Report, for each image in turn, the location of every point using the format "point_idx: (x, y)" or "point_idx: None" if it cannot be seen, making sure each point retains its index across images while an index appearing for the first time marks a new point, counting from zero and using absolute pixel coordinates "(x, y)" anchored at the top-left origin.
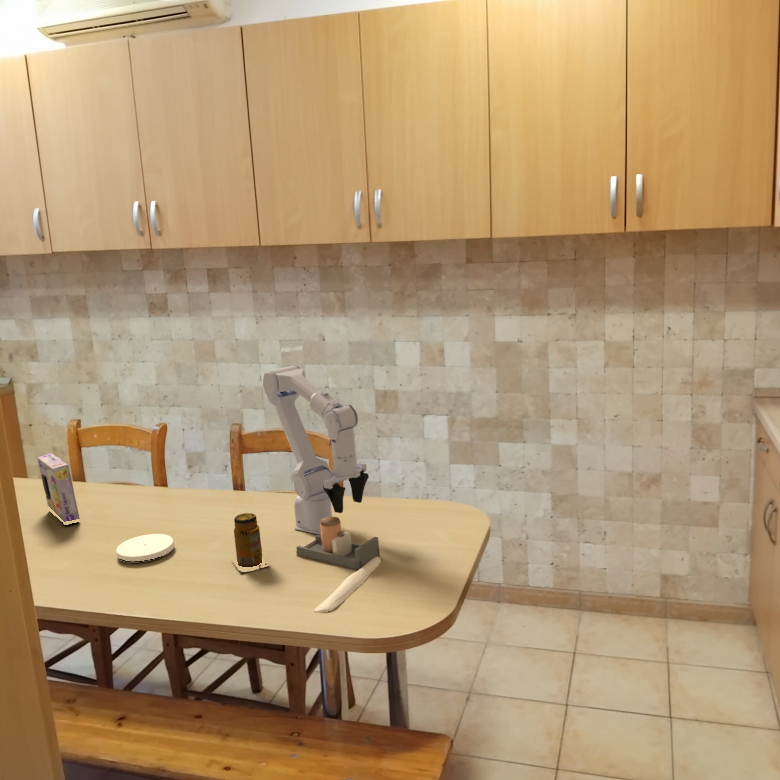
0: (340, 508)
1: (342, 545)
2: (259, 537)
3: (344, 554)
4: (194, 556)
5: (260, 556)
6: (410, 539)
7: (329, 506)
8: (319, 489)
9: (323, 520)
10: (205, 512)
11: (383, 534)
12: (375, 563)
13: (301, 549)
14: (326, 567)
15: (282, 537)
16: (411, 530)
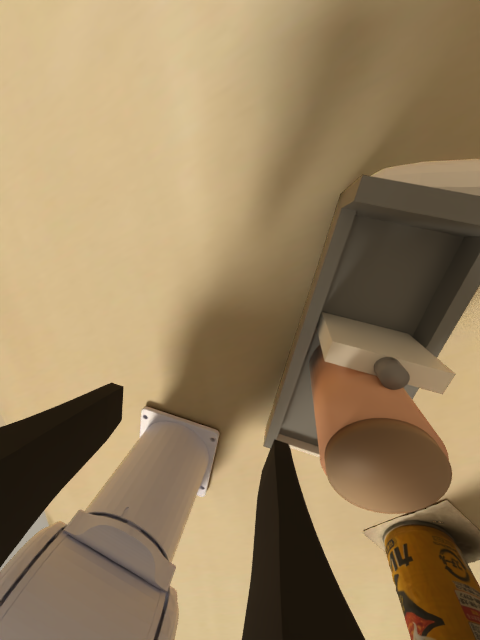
0: (295, 472)
1: (387, 342)
2: (464, 631)
3: (367, 325)
4: (384, 629)
5: (433, 546)
6: (163, 139)
7: (135, 477)
8: (112, 595)
9: (391, 501)
10: (182, 625)
11: (158, 262)
12: (440, 167)
13: None
14: (449, 354)
15: (252, 505)
16: (97, 175)
